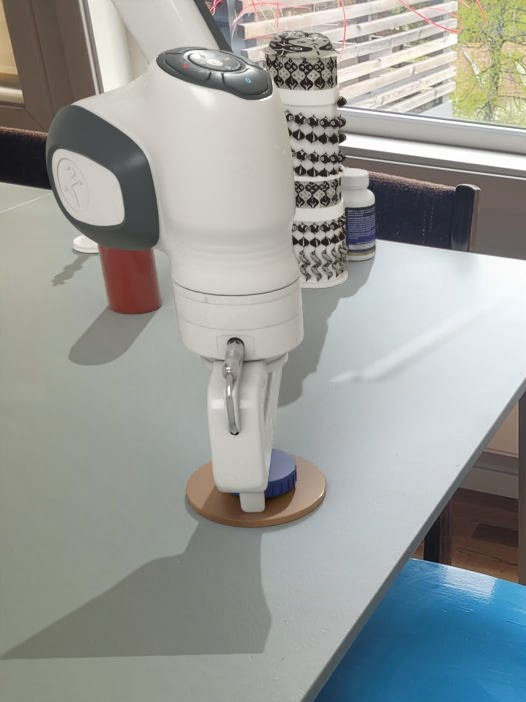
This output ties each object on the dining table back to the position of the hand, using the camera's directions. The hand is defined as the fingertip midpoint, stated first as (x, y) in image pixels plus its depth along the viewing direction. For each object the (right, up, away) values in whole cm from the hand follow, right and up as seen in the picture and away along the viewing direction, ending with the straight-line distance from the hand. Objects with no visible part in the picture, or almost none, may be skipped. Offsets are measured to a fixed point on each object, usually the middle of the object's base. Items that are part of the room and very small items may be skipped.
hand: (257, 483), depth 80 cm
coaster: (0, -1, 0) cm, 1 cm away
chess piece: (-30, +36, +43) cm, 64 cm away
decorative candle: (-2, +31, +39) cm, 50 cm away
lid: (0, +1, -1) cm, 2 cm away
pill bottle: (+2, +36, +46) cm, 59 cm away
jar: (-20, +24, +29) cm, 43 cm away
